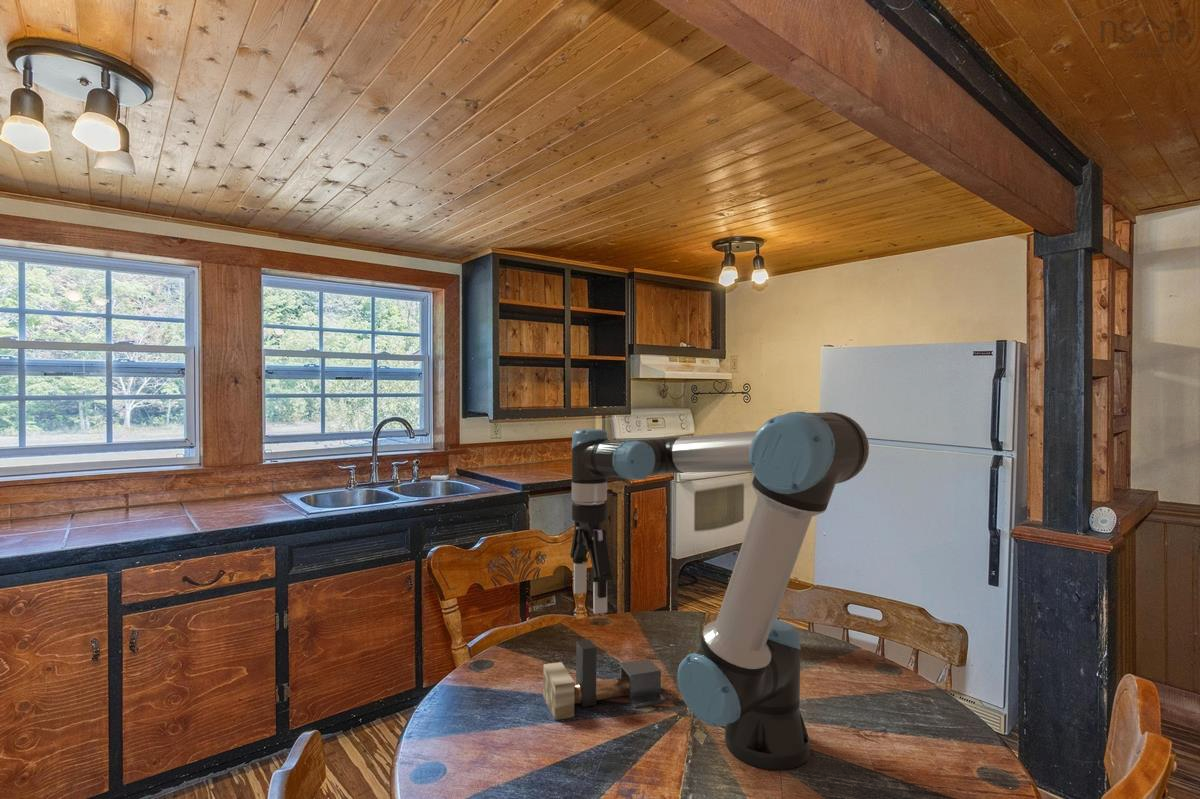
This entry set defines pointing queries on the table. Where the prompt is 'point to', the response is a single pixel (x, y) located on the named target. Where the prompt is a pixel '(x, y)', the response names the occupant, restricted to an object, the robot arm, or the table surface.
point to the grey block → (643, 682)
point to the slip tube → (594, 678)
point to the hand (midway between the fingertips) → (589, 602)
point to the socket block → (558, 690)
